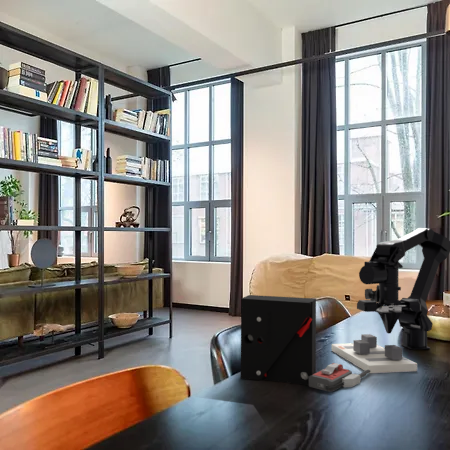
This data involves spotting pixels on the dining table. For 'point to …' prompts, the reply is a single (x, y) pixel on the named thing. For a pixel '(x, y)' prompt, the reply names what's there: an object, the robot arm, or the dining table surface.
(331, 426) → the dining table surface
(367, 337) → the grey plastic block
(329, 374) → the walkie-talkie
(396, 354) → the grey squarish block
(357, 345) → the grey block
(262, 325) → the electrical component
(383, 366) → the switch board
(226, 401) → the dining table surface
